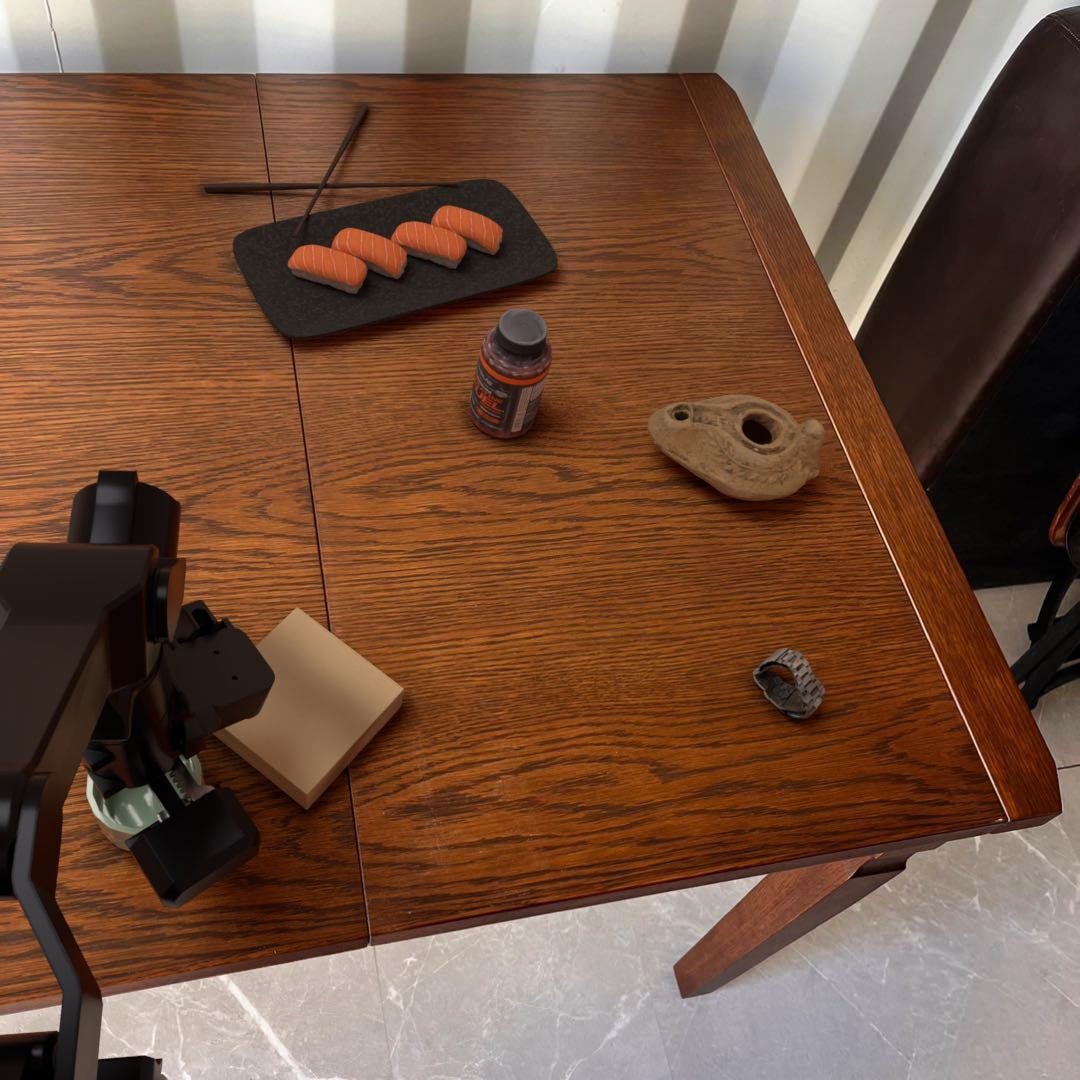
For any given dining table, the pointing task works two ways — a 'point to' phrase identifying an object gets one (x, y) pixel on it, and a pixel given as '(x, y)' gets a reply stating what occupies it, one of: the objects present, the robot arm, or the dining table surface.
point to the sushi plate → (387, 252)
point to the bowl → (132, 806)
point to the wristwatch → (784, 695)
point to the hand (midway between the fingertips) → (150, 796)
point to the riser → (312, 709)
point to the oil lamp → (740, 445)
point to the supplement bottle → (511, 374)
